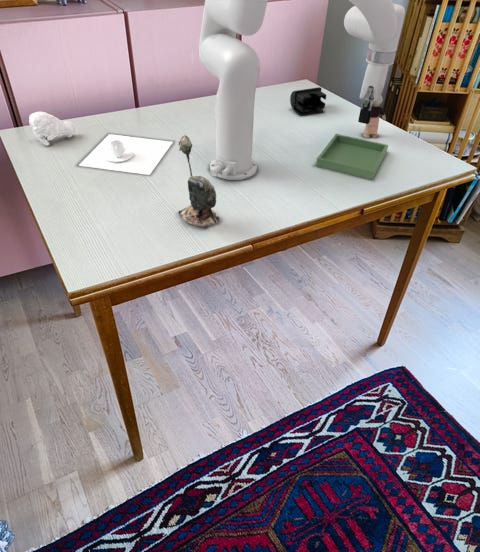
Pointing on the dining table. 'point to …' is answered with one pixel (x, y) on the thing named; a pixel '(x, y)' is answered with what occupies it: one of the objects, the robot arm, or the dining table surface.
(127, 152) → the teacup and saucer
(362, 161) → the tray
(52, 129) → the white animal figurine
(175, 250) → the dining table surface
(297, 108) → the end cap
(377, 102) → the grandmother figurine
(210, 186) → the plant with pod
